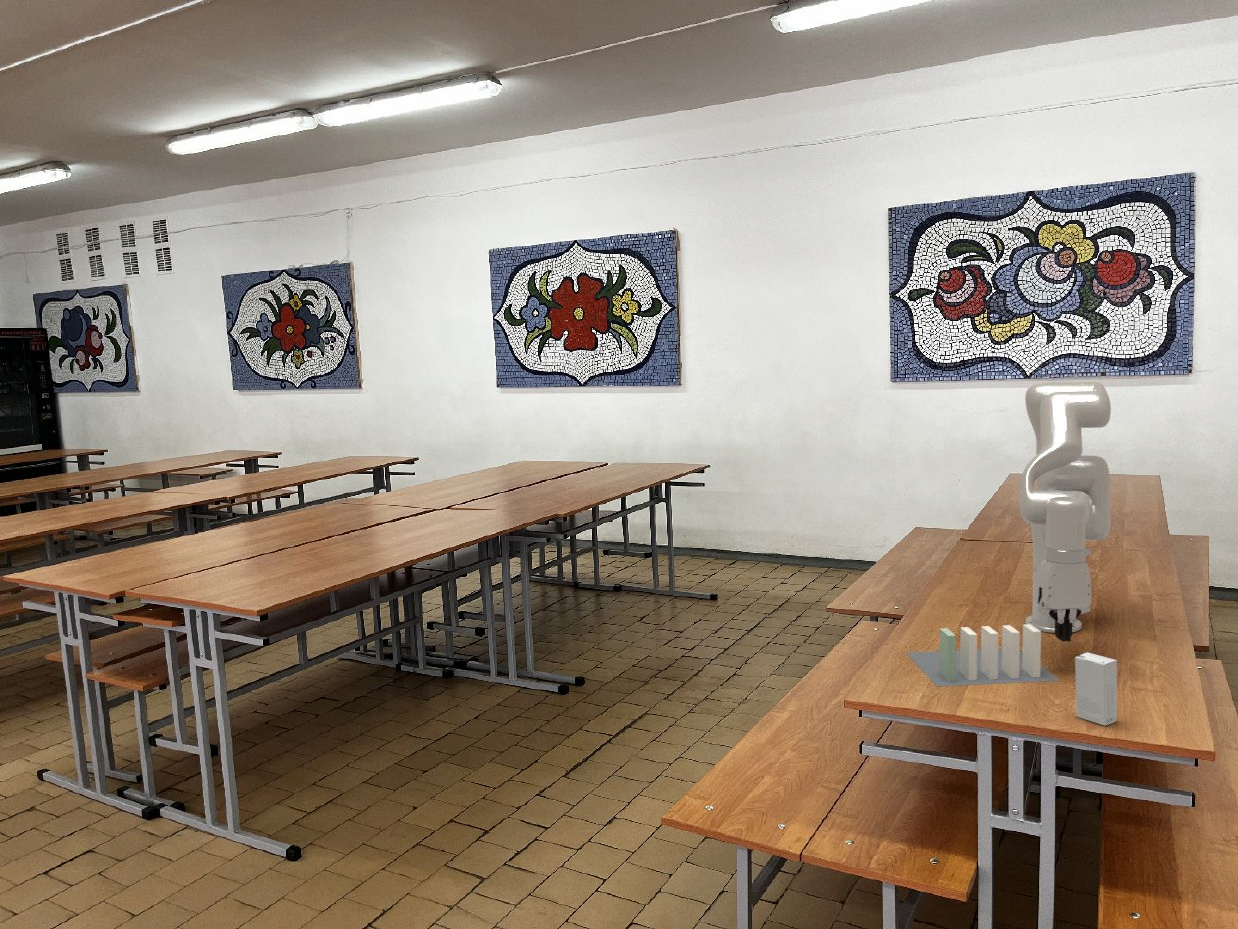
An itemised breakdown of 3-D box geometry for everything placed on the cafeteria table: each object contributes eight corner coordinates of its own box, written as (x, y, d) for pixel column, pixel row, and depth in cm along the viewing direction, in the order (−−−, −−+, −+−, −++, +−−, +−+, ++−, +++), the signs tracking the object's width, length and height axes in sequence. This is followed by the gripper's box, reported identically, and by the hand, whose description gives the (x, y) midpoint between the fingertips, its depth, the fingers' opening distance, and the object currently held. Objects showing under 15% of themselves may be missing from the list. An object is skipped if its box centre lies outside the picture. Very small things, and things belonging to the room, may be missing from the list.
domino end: (946, 672, 203) (947, 628, 201) (955, 681, 198) (955, 635, 196) (939, 673, 203) (939, 628, 201) (948, 681, 198) (948, 635, 196)
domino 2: (988, 670, 203) (988, 626, 201) (997, 679, 198) (998, 633, 196) (981, 671, 203) (981, 626, 201) (990, 679, 198) (990, 633, 196)
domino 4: (1029, 668, 203) (1030, 624, 201) (1040, 677, 198) (1041, 631, 196) (1022, 669, 203) (1023, 624, 201) (1032, 677, 198) (1033, 631, 196)
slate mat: (1017, 649, 216) (1017, 647, 216) (1060, 682, 195) (1060, 680, 195) (905, 654, 216) (905, 652, 216) (936, 688, 195) (936, 686, 195)
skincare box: (1118, 721, 176) (1119, 659, 174) (1104, 727, 173) (1106, 665, 172) (1086, 711, 181) (1088, 650, 179) (1073, 717, 179) (1074, 656, 177)
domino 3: (1009, 669, 203) (1009, 625, 201) (1019, 678, 198) (1019, 632, 196) (1001, 670, 203) (1002, 625, 201) (1011, 678, 198) (1012, 632, 196)
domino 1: (967, 671, 203) (968, 627, 201) (976, 680, 198) (977, 634, 196) (960, 672, 203) (960, 627, 201) (969, 680, 198) (969, 634, 196)
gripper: (1091, 550, 201) (1089, 632, 203) (1021, 553, 200) (1020, 635, 203) (1109, 558, 193) (1107, 643, 196) (1037, 561, 193) (1036, 647, 196)
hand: (1063, 639), depth 199 cm, fingers closed
